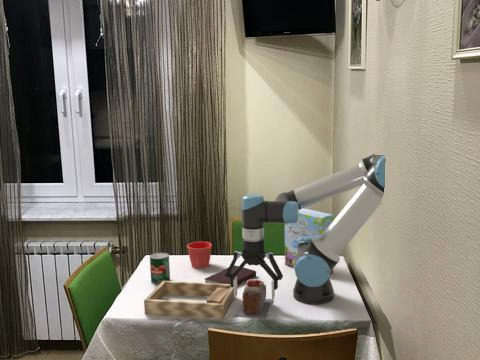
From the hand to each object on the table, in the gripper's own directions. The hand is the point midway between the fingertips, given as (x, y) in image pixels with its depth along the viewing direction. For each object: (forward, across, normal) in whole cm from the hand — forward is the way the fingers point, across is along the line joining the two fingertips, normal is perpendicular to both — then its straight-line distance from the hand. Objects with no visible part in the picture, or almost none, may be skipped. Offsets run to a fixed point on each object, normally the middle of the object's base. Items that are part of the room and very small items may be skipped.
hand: (254, 296), depth 183 cm
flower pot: (+4, -32, +42) cm, 53 cm away
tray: (+4, -23, -1) cm, 23 cm away
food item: (+4, 0, 0) cm, 4 cm away
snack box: (+4, +16, +44) cm, 47 cm away
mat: (+4, 0, 0) cm, 4 cm away
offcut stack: (+4, -13, -1) cm, 14 cm away
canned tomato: (+4, -43, +21) cm, 48 cm away
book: (+5, -14, +26) cm, 30 cm away
